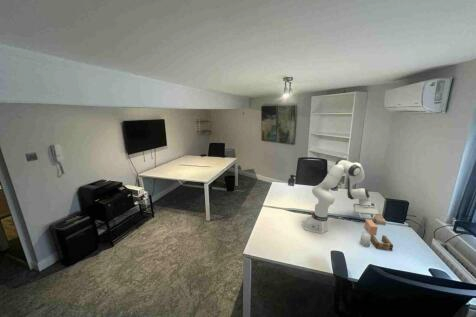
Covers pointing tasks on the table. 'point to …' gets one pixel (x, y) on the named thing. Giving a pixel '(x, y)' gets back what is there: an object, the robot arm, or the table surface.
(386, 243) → the lane
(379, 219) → the brick
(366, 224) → the block
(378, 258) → the table surface
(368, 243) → the white rounded piece
